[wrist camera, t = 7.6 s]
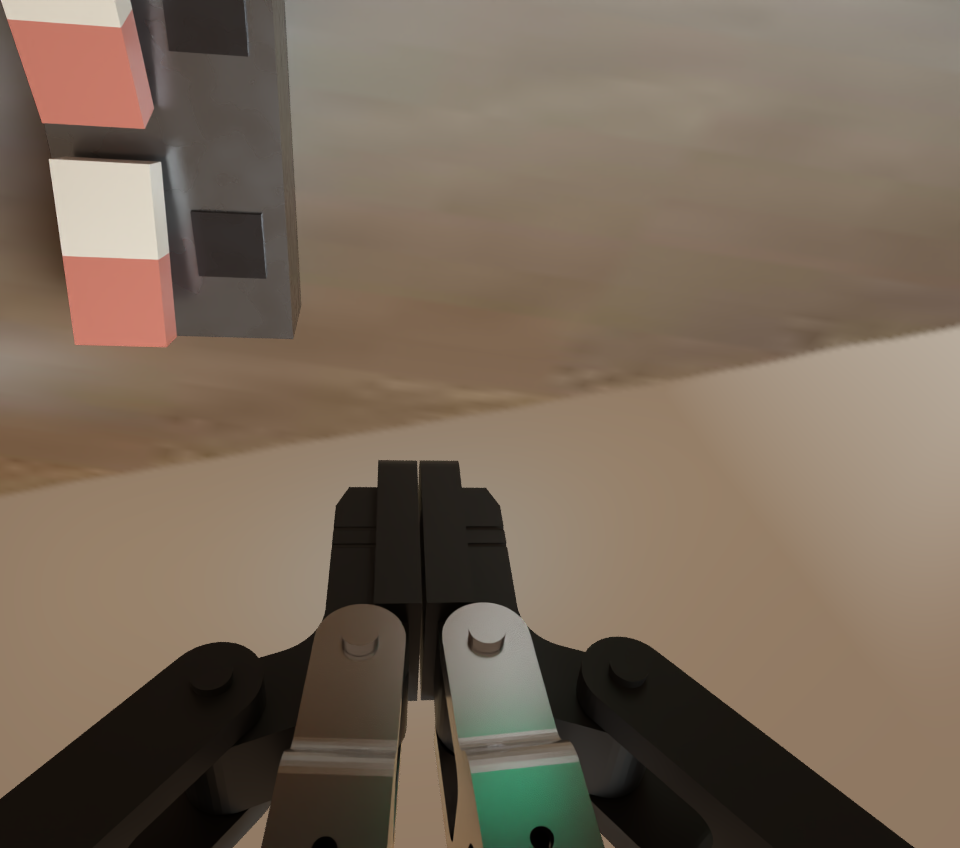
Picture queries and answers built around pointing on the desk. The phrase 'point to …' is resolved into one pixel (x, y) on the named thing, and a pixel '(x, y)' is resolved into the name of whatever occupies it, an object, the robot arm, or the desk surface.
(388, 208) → the desk surface
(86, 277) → the rocker
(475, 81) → the desk surface
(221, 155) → the power strip
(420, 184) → the desk surface
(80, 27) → the block
